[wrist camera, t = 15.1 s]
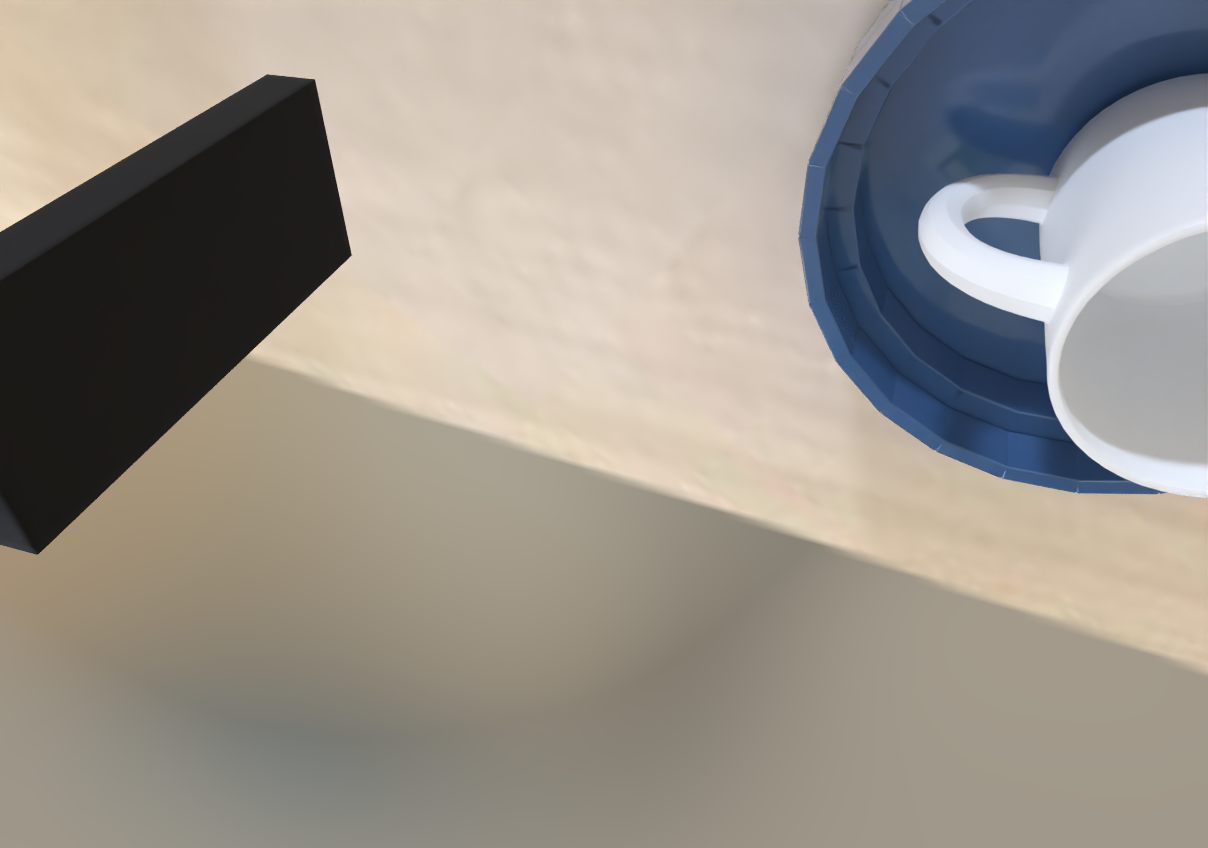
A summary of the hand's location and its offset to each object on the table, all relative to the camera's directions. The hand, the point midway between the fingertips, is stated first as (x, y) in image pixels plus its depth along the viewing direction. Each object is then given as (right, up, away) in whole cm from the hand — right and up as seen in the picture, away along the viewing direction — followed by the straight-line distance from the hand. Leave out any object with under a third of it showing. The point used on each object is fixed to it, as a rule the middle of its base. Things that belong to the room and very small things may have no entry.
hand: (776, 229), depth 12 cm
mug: (+15, +5, +19) cm, 24 cm away
